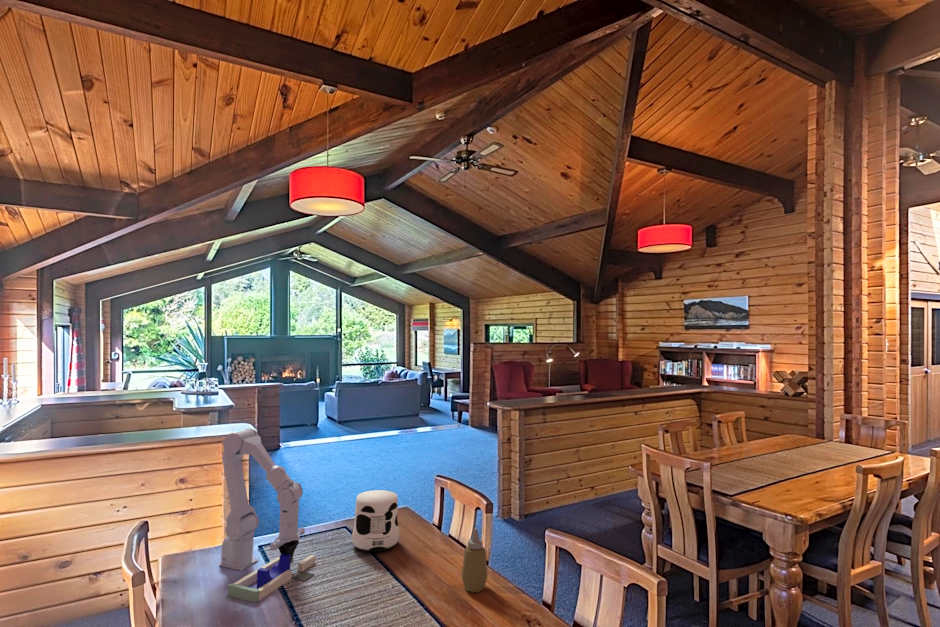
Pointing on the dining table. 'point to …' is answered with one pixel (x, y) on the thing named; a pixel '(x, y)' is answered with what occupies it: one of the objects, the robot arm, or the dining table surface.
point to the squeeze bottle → (474, 564)
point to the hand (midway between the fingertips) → (286, 564)
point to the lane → (254, 595)
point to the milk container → (375, 521)
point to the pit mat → (303, 576)
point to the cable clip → (273, 570)
